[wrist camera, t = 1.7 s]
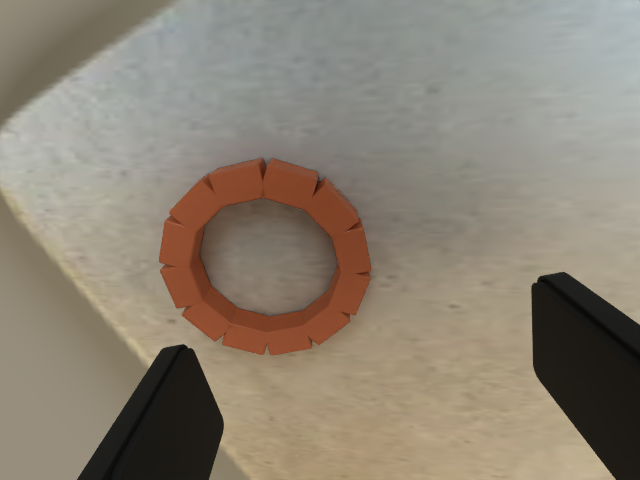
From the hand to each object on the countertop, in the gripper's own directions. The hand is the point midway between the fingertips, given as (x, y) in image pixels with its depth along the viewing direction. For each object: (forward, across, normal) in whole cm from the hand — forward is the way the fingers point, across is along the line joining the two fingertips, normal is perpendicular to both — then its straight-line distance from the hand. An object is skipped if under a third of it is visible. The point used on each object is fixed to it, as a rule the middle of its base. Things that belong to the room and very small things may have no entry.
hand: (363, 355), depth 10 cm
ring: (+7, +3, -1) cm, 7 cm away
